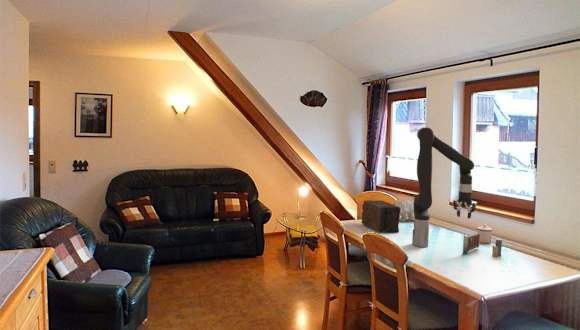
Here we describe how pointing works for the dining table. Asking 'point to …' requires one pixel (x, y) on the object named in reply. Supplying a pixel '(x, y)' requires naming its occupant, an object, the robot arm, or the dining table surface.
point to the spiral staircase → (406, 209)
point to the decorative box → (381, 216)
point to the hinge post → (465, 245)
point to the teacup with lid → (484, 234)
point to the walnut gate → (473, 241)
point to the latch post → (497, 248)
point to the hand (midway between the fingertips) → (463, 217)
